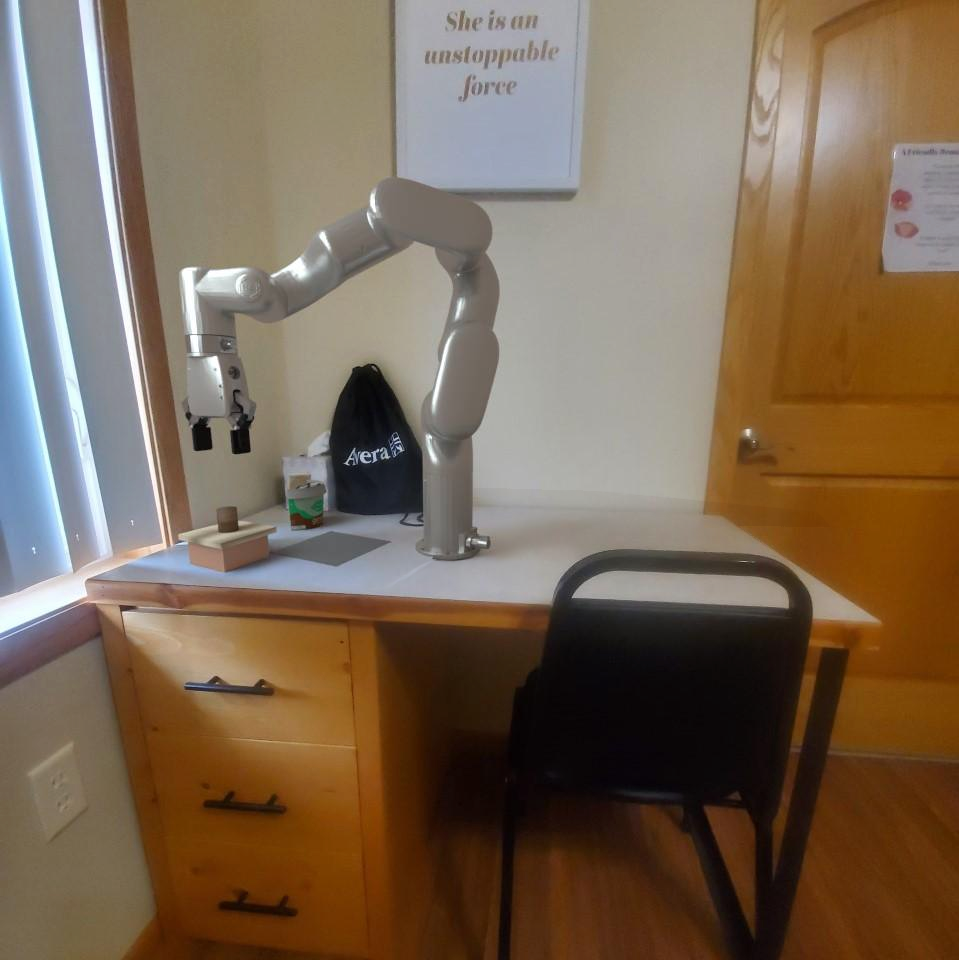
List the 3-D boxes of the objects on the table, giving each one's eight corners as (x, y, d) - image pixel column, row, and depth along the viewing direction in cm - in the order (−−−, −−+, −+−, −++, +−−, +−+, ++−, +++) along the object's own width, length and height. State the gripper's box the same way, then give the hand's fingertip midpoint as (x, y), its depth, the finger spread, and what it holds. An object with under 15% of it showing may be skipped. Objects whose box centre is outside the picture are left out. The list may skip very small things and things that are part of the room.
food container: (317, 535, 103) (314, 489, 101) (288, 535, 103) (285, 489, 101) (335, 520, 115) (333, 479, 113) (310, 520, 115) (307, 479, 113)
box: (290, 521, 114) (287, 475, 112) (288, 516, 118) (285, 472, 116) (313, 518, 117) (311, 473, 115) (310, 514, 120) (308, 470, 118)
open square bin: (269, 559, 88) (267, 532, 87) (225, 575, 80) (222, 546, 79) (235, 551, 92) (233, 526, 91) (190, 566, 84) (187, 539, 83)
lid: (276, 532, 88) (274, 505, 87) (221, 549, 78) (219, 519, 77) (235, 524, 92) (233, 499, 92) (178, 539, 83) (175, 511, 82)
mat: (391, 544, 97) (391, 541, 97) (336, 569, 83) (336, 566, 83) (330, 533, 104) (330, 531, 104) (270, 555, 90) (270, 552, 90)
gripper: (268, 348, 79) (276, 452, 82) (199, 352, 86) (209, 447, 90) (227, 344, 72) (237, 457, 75) (156, 349, 80) (168, 451, 83)
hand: (222, 451), depth 83 cm, fingers open, 9 cm apart
